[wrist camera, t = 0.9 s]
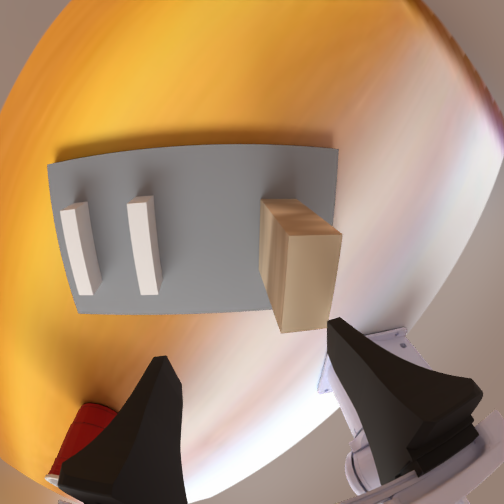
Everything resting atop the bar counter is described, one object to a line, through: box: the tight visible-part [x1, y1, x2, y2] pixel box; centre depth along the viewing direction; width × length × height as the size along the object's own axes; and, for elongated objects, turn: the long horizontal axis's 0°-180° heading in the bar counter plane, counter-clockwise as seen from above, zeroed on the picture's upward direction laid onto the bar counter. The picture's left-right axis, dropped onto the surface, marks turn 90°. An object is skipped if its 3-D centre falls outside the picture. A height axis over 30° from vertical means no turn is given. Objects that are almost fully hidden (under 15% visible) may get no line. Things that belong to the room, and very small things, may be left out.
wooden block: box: [259, 199, 342, 333], centre depth 15 cm, size 2×5×7 cm, turn 179°
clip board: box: [47, 144, 339, 315], centre depth 17 cm, size 20×12×3 cm, turn 89°
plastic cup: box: [45, 403, 117, 487], centre depth 20 cm, size 11×11×12 cm
